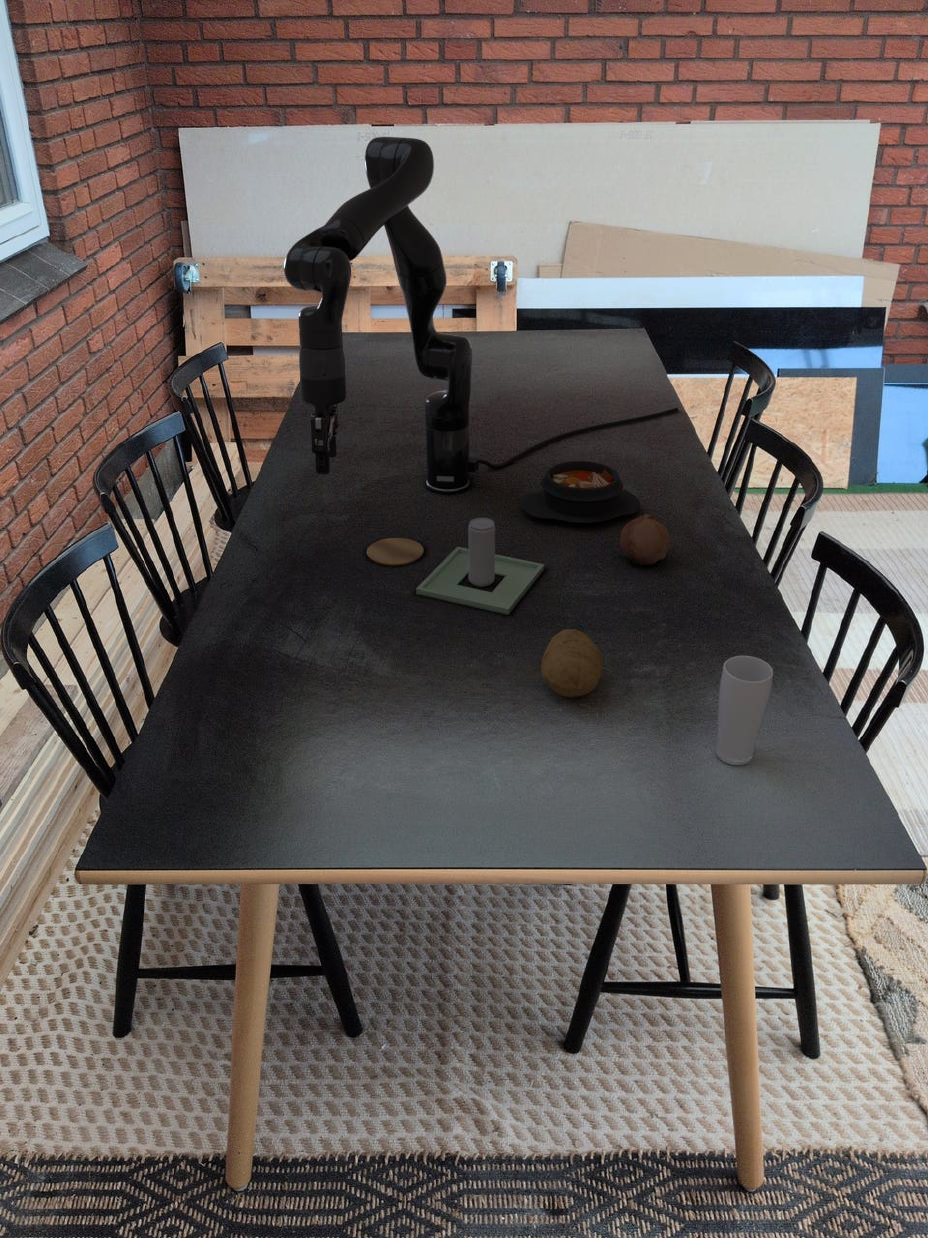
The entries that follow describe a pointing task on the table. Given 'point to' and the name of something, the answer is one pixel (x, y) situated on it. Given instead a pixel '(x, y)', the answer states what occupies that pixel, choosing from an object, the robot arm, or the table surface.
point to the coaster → (395, 551)
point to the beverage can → (481, 551)
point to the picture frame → (500, 600)
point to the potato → (571, 664)
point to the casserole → (580, 494)
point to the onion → (644, 540)
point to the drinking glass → (742, 706)
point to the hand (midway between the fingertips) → (326, 464)
